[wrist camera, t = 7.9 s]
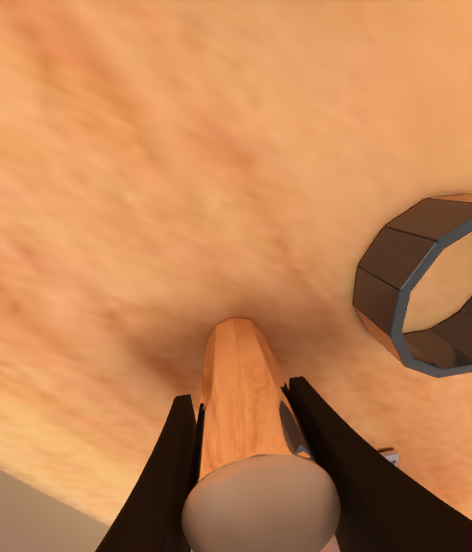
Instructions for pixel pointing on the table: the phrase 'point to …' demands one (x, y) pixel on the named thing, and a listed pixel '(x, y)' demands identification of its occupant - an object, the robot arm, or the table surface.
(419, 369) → the brown hollow ring
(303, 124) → the table surface
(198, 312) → the table surface
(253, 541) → the milkshake
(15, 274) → the table surface
